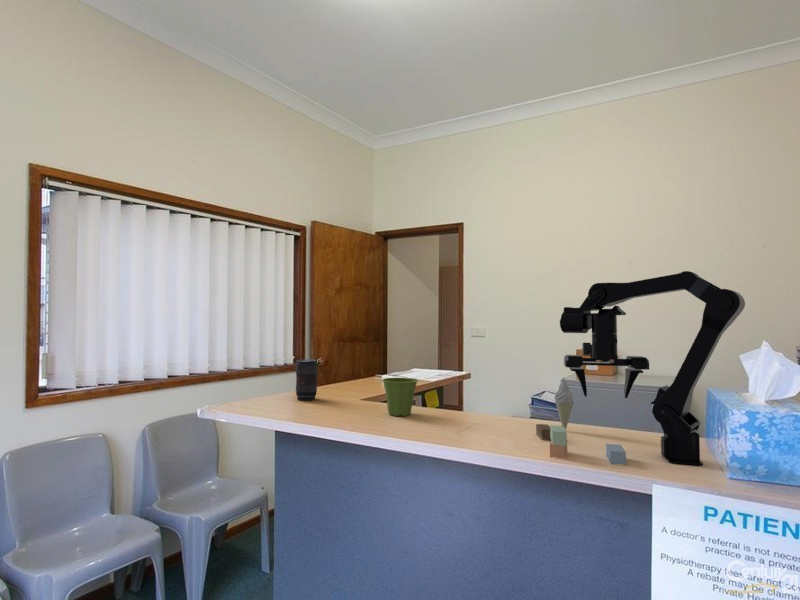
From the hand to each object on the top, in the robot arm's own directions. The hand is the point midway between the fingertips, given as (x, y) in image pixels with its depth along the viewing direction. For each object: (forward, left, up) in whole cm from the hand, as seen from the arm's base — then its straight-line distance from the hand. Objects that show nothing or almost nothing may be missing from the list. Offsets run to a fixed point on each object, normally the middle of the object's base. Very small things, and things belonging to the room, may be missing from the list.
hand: (605, 397), depth 113 cm
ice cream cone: (+9, -13, -12) cm, 20 cm away
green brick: (+12, +11, -9) cm, 18 cm away
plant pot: (+59, -21, -12) cm, 64 cm away
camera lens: (+101, -37, -12) cm, 108 cm away
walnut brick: (+14, -4, -12) cm, 19 cm away
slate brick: (0, +12, -12) cm, 17 cm away
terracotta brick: (+12, +11, -12) cm, 20 cm away
